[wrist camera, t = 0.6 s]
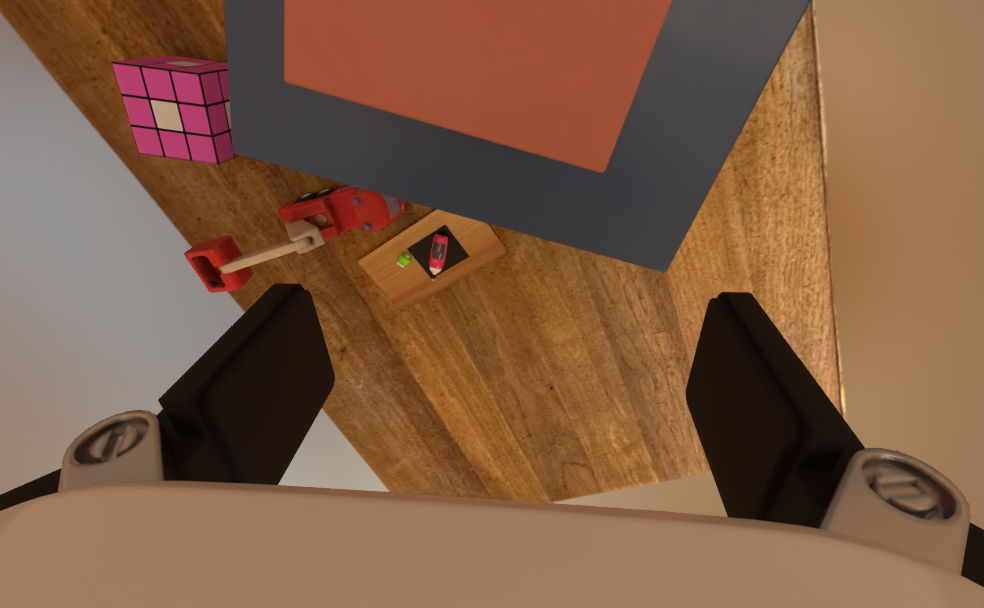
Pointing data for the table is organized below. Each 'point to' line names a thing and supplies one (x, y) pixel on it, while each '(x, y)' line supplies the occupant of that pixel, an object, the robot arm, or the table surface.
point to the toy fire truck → (296, 233)
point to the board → (431, 256)
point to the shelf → (516, 173)
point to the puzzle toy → (178, 107)
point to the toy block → (483, 65)
